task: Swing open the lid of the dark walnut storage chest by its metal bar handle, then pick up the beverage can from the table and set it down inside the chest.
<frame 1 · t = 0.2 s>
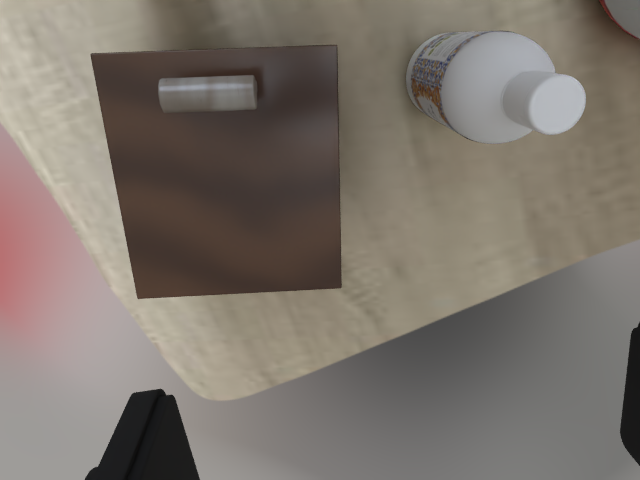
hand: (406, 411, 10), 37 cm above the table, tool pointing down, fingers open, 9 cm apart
lid: (224, 191, 31), point 15 cm above the table, hinge at 0.0°
bath foam: (443, 75, 43), on the table
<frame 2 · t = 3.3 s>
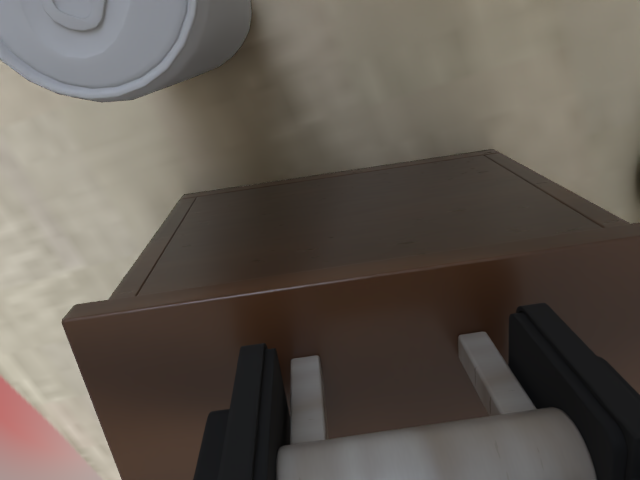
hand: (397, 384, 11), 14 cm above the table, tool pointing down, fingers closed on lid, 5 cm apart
beverage can: (194, 10, 21), on the table
chest: (356, 316, 26), on the table
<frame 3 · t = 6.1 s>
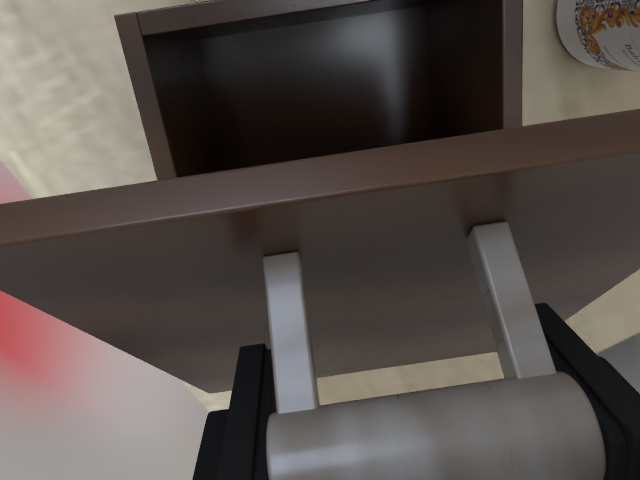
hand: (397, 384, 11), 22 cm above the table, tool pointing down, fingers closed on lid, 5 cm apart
chest: (327, 143, 31), on the table
lid: (385, 387, 14), point 20 cm above the table, hinge at 44.2°, touching gripper
bath foam: (608, 5, 30), on the table
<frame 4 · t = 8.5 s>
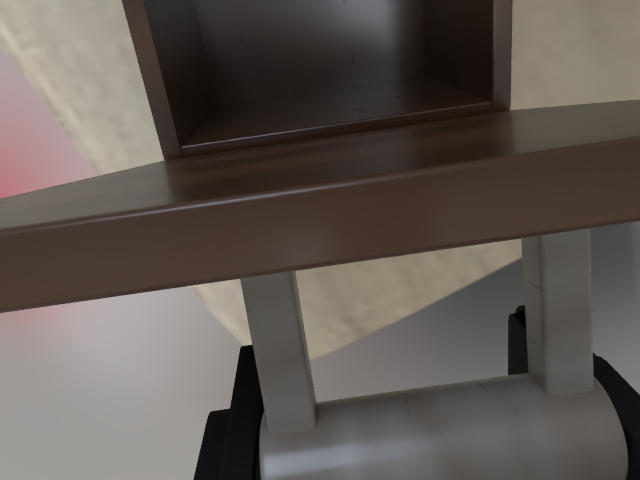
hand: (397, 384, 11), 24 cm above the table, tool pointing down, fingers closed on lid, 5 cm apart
lid: (369, 245, 13), point 21 cm above the table, hinge at 78.9°, touching gripper
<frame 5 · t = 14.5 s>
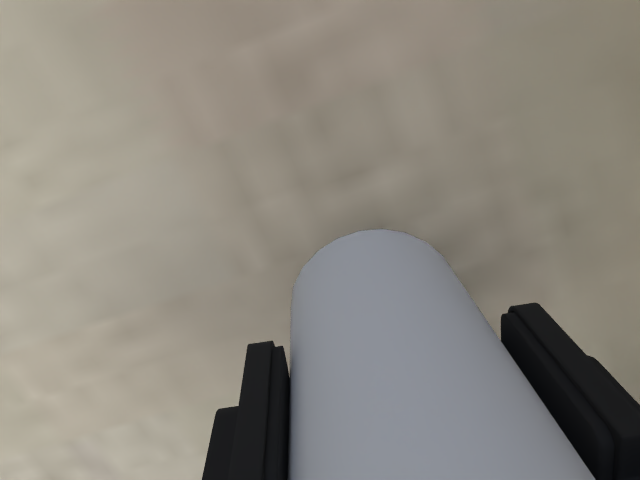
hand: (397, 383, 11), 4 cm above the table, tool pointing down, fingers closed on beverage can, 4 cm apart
beverage can: (370, 295, 15), on the table, touching gripper
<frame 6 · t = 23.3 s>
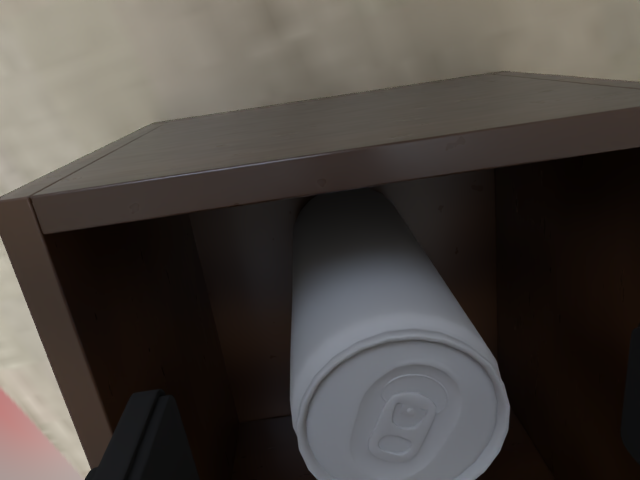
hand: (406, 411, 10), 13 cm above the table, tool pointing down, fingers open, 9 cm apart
beverage can: (346, 234, 22), point 1 cm above the table, touching chest
chest: (350, 269, 23), on the table
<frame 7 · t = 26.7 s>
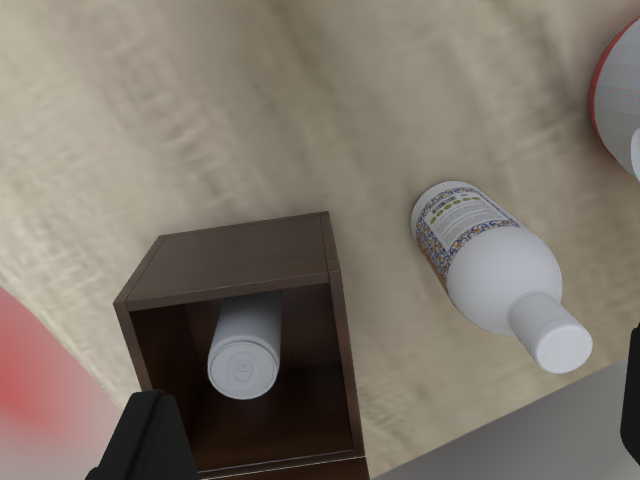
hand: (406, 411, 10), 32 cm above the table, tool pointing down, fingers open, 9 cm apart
beverage can: (255, 286, 44), point 1 cm above the table, touching chest
chest: (260, 303, 46), on the table
bath foam: (447, 217, 44), on the table
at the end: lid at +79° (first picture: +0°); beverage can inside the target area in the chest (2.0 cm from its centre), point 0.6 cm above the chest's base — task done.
